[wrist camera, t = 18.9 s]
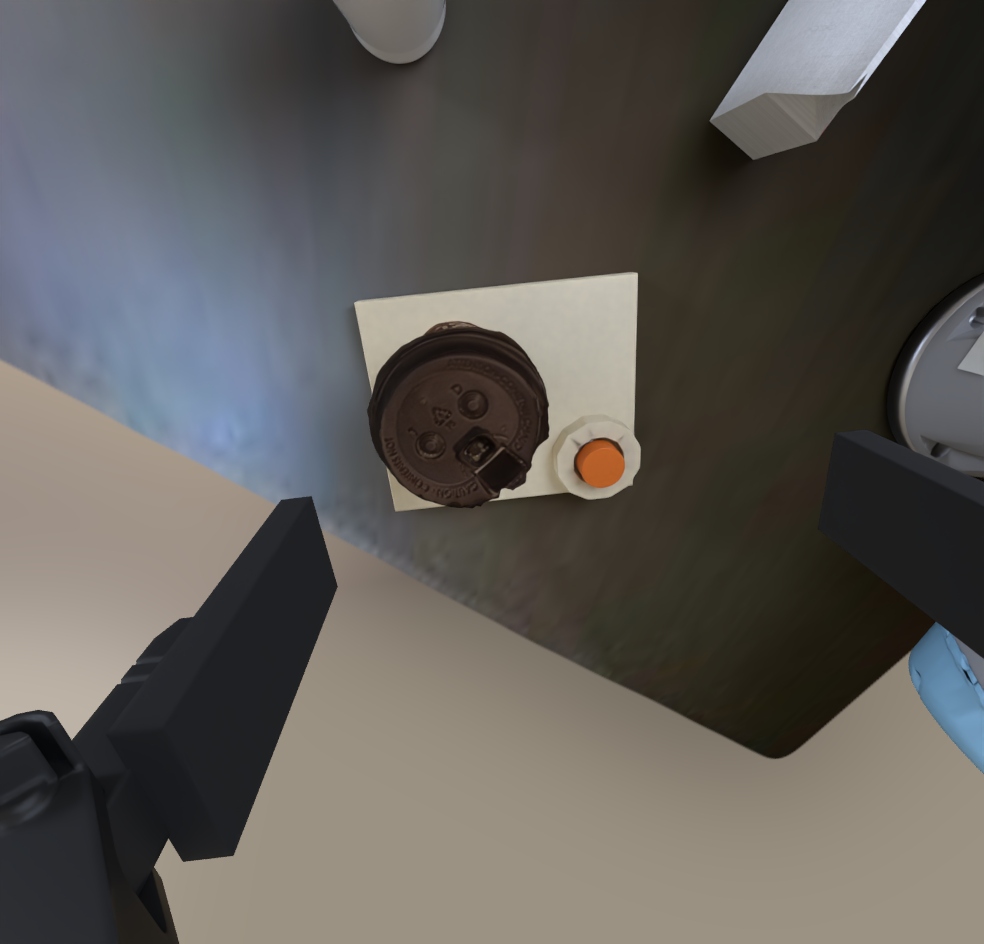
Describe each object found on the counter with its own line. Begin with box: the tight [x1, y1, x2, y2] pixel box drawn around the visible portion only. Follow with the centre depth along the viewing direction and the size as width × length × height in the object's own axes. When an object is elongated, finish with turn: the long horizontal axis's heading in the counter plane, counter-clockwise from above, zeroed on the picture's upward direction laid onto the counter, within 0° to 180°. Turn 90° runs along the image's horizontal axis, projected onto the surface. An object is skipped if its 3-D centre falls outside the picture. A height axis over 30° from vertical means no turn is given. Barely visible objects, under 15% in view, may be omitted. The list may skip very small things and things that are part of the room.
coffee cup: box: [367, 321, 550, 508], centre depth 28 cm, size 9×8×13 cm
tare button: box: [577, 440, 625, 488], centre depth 35 cm, size 3×3×2 cm
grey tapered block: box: [710, 0, 926, 160], centre depth 25 cm, size 4×7×10 cm, turn 148°
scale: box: [355, 272, 641, 512], centre depth 34 cm, size 18×15×3 cm
